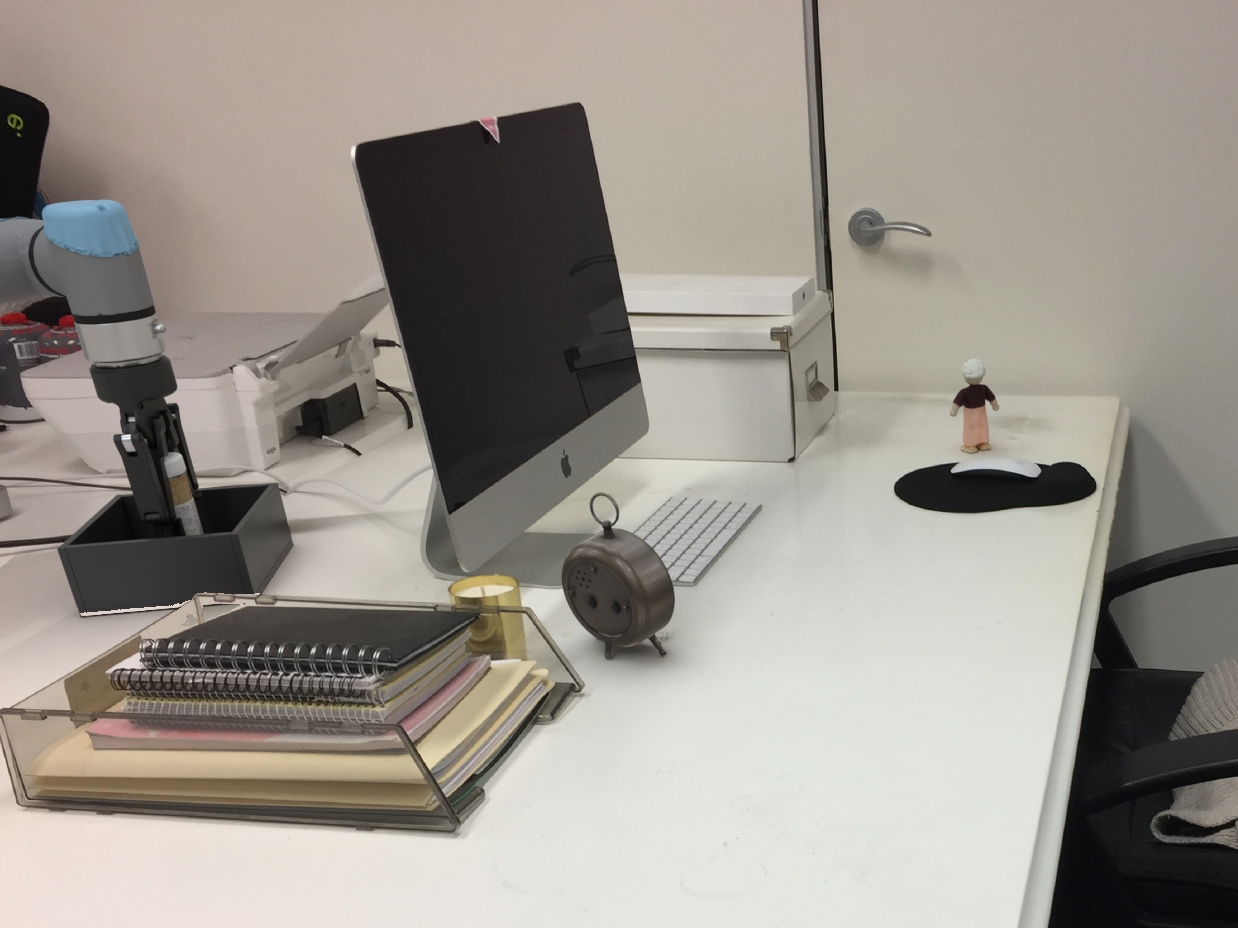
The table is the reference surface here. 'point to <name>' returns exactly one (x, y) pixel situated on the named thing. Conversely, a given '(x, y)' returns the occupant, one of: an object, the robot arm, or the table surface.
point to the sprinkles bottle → (182, 494)
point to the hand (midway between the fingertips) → (190, 566)
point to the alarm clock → (618, 586)
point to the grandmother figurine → (974, 407)
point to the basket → (178, 551)
